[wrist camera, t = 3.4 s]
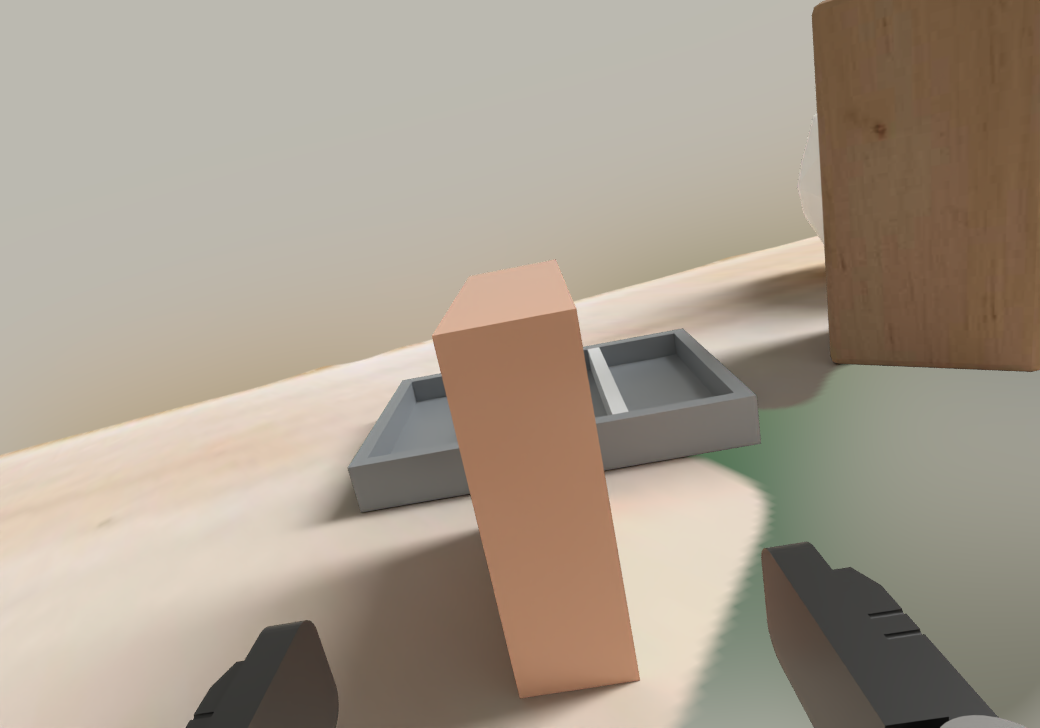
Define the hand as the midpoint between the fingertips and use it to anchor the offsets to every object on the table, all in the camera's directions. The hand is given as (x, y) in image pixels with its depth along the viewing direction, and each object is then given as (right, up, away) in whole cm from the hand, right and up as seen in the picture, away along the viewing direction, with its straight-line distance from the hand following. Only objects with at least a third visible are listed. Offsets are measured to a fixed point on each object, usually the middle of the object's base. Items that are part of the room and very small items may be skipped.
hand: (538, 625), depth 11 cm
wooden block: (+25, +6, +26) cm, 37 cm away
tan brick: (+1, -3, +12) cm, 12 cm away
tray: (+2, +1, +26) cm, 26 cm away
